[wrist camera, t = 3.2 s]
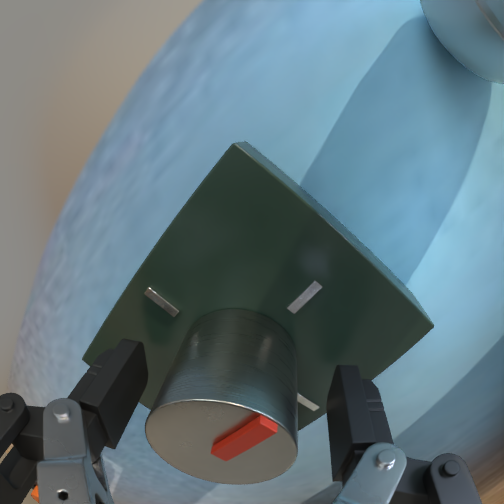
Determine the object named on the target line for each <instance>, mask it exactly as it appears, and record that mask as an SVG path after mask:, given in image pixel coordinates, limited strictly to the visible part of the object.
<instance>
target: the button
mask: <svg viewBox="0 0 504 504" xmlns="http://www.w3.org/2000/svg"><path fill="white" fill-rule="evenodd" d="M31 496H32V497H33V498H34V499H35V500H36V501H37V502H38V503H39V495H38V486H37V485H36V486H35V488H34V490H33V491H32V493H31Z"/></svg>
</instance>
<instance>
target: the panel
mask: <svg viewBox="0 0 504 504" xmlns="http://www.w3.org/2000/svg"><path fill="white" fill-rule="evenodd" d="M226 309H241V310H248V311H252V312H256V313H259V314H261V315H264V316H266V317H268V318H270V319H272V320H273V321H275V322H276V323H277V324H279V325H280V326H281V327H282V328H283V329H284V330H285V331H286V332H287V333H288V335H289V336H290V338H291V339H292V342H293V344H294V346H295V350H296V358H297V406H298V431H299V430H301V429H302V428H304V427H305V426H307V425H309V424H310V423H312V422H313V421H315V420H316V419H318V418H319V417H321V416H322V415H324V414H325V413H327V410H326V405H327V396H328V392H329V389H330V386H331V382H332V379H333V375H334V371H335V368H336V366H337V365H357V366H358V367H359V371H360V375H361V379H370V380H373V379H374V378H375V377H376V376H378V375H379V374H380V373H381V372H383V371H384V370H385V369H386V368H388V367H389V366H390V365H391V364H393V363H394V362H395V361H396V360H397V359H399V358H400V357H401V356H402V355H403V354H404V353H406V352H407V351H408V350H409V349H410V348H411V347H413V346H414V345H415V344H416V343H417V342H418V341H419V340H420V339H422V338H423V337H424V336H425V335H426V334H427V333H428V332H429V331H430V330H431V329H432V328H433V327H434V324H433V323H432V321H431V320H430V318H429V317H428V315H427V314H426V312H425V311H424V309H423V308H422V306H421V305H420V304H419V302H418V301H417V299H416V298H415V296H414V295H413V294H412V292H411V291H410V290H409V289H408V288H407V287H406V286H405V285H404V284H403V283H402V282H401V281H400V280H399V279H398V278H397V277H396V276H395V275H394V274H393V273H392V272H391V271H390V270H389V269H388V268H387V267H386V266H385V265H384V264H383V263H382V262H381V261H380V260H379V259H378V258H377V257H376V256H375V255H374V254H373V253H372V252H371V251H370V250H369V249H368V248H367V247H366V246H365V245H364V244H363V243H361V242H360V241H359V240H358V239H357V238H356V237H355V236H354V235H353V234H352V233H351V232H350V231H349V230H348V229H347V228H346V227H345V226H343V225H342V224H341V223H340V222H339V221H338V220H337V219H336V218H335V217H334V216H333V215H331V214H330V213H329V212H328V211H327V210H326V209H325V208H324V207H323V206H322V205H320V204H319V203H318V202H317V201H316V200H315V199H314V198H313V197H311V196H310V195H309V194H308V193H307V192H306V191H305V190H303V189H302V188H301V187H300V186H299V185H298V184H297V183H295V182H294V181H293V180H292V179H291V178H290V177H288V176H287V175H286V174H285V173H284V172H282V171H281V170H280V169H279V168H278V167H277V166H275V165H274V164H273V163H272V162H271V161H269V160H268V159H267V158H266V157H264V156H263V155H262V154H261V153H260V152H258V151H257V150H256V149H255V148H253V147H252V146H251V145H250V144H249V143H247V142H237V143H233V144H232V145H231V146H230V147H229V149H228V150H227V151H226V152H225V154H224V155H223V156H222V157H221V159H220V160H219V161H218V162H217V164H216V165H215V166H214V167H213V169H212V170H211V171H210V172H209V174H208V175H207V176H206V178H205V179H204V180H203V181H202V183H201V184H200V185H199V187H198V188H197V189H196V190H195V192H194V193H193V194H192V196H191V197H190V198H189V200H188V201H187V202H186V204H185V205H184V206H183V208H182V209H181V210H180V212H179V213H178V214H177V216H176V217H175V218H174V220H173V221H172V223H171V224H170V225H169V227H168V228H167V229H166V231H165V232H164V234H163V235H162V236H161V238H160V239H159V241H158V242H157V243H156V245H155V246H154V248H153V249H152V251H151V252H150V253H149V255H148V256H147V258H146V259H145V261H144V262H143V264H142V265H141V266H140V268H139V269H138V271H137V272H136V274H135V275H134V277H133V278H132V280H131V281H130V283H129V284H128V286H127V287H126V289H125V290H124V292H123V293H122V295H121V296H120V298H119V299H118V301H117V303H116V304H115V306H114V307H113V309H112V310H111V312H110V314H109V315H108V317H107V318H106V320H105V321H104V323H103V325H102V326H101V328H100V329H99V331H98V333H97V334H96V336H95V338H94V339H93V341H92V343H91V344H90V346H89V348H88V349H87V351H86V353H85V354H84V356H83V358H82V360H83V361H84V362H85V363H87V364H88V365H89V366H92V364H93V362H94V361H95V360H96V358H97V357H98V356H99V355H100V354H102V353H103V352H105V351H106V350H108V349H109V348H110V349H115V348H116V346H117V345H118V344H119V342H120V341H121V340H122V339H123V338H125V339H130V340H135V341H140V342H142V343H143V344H144V349H145V355H146V362H147V368H148V382H147V386H146V388H145V390H144V392H143V394H142V396H141V398H140V400H139V402H140V403H141V404H143V405H144V406H146V407H147V408H149V409H150V410H151V408H152V406H153V404H154V402H155V400H156V398H157V395H158V393H159V391H160V389H161V387H162V384H163V382H164V380H165V378H166V376H167V374H168V372H169V369H170V367H171V365H172V363H173V361H174V359H175V357H176V354H177V352H178V350H179V348H180V346H181V344H182V342H183V340H184V337H185V335H186V333H187V332H188V330H189V328H190V327H191V326H192V325H193V324H194V323H195V322H196V321H197V320H199V319H200V318H201V317H203V316H205V315H207V314H209V313H212V312H215V311H220V310H226Z"/></svg>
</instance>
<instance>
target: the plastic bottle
mask: <svg viewBox="0 0 504 504" xmlns="http://www.w3.org/2000/svg"><path fill="white" fill-rule="evenodd" d="M420 3H421V6H422V9H423V12H424V14H425V16H426V18H427V21H428V23H429V25H430V27H431V29H432V30H433V32H434V34H435V35H436V37H437V38H438V39H439V41H440V42H441V44H442V45H443V46H444V47H445V48H446V49H447V50H448V51H449V53H450V54H451V55H452V56H453V57H454V58H455V59H456V60H458V61H459V62H460V63H461V64H462V65H463V66H465V67H466V68H467V69H468V70H470V71H471V72H473V73H474V74H476V75H477V76H479V77H481V78H483V79H486V80H488V81H491V82H495V83H499V84H504V0H420Z"/></svg>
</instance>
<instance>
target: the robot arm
mask: <svg viewBox="0 0 504 504" xmlns="http://www.w3.org/2000/svg"><path fill="white" fill-rule="evenodd" d="M147 382H148V368H147V362H146V355H145V349H144V344H143V343H142V342H140V341H135V340H130V339H125V338H123V339H122V340H121V341H120V342H119V344H118V345H117V346H116V348H115V349H110V348H109V349H108V350H106V351H105V352H103V353H102V354H100V355H99V356H98V357H97V358H96V360H95V361H94V362H93V364H92V366H90V368H89V369H88V370H87V373H85V374H84V376H83V377H82V378H81V380H80V381H79V383H78V384H77V385H76V387H75V388H74V389H73V391H72V392H71V394H70V395H69V396H68V398H61V399H56V400H54V401H52V402H50V403H49V404H48V405H47V406H46V407H35V406H26V404H25V402H24V400H23V398H22V397H21V396H20V395H18V394H15V393H6V394H3V395H1V396H0V458H1V456H2V455H3V454H4V452H5V451H6V450H7V449H8V447H9V446H10V445H11V443H12V444H13V445H14V446H13V448H12V449H11V450H10V452H9V453H8V454H7V456H6V457H5V458H4V460H3V461H2V463H1V464H0V504H21V503H22V502H23V500H24V498H25V497H26V495H27V494H28V492H29V490H30V489H31V488H32V486H33V484H34V483H35V481H36V480H37V483H38V495H39V504H114V502H113V499H112V496H111V493H110V489H109V484H108V480H107V476H106V471H105V467H104V462H103V457H102V454H101V452H102V450H103V448H104V446H106V447H109V448H112V449H115V448H116V446H117V444H118V442H119V440H120V438H121V436H122V434H123V432H124V430H125V428H126V426H127V424H128V422H129V420H130V418H131V416H132V414H133V412H134V410H135V408H136V406H137V404H138V402H139V400H140V398H141V396H142V394H143V392H144V390H145V388H146V386H147ZM326 410H327V420H328V430H329V441H330V453H331V465H332V479H333V481H342V485H343V488H342V490H341V491H340V493H339V494H338V496H337V497H336V499H335V500H334V501H333V503H332V504H482V502H481V499H480V496H479V494H478V491H477V489H476V486H475V484H474V481H473V479H472V476H471V474H470V471H469V469H468V466H467V464H466V463H465V461H464V460H463V459H462V458H461V457H459V456H457V455H455V454H450V453H445V454H441V455H439V456H437V457H436V458H435V459H434V460H433V461H432V462H428V461H422V460H415V459H411V458H408V457H406V456H405V454H404V452H403V451H402V450H401V449H400V448H399V447H397V446H396V445H394V443H393V440H392V436H391V433H390V429H389V425H388V421H387V418H386V414H385V411H384V407H383V403H382V402H381V397H380V393H379V390H378V388H377V387H376V386H375V384H374V383H373V382H372V381H371V380H370V379H361V375H360V371H359V367H358V366H357V365H337V366H336V368H335V371H334V375H333V379H332V382H331V386H330V389H329V392H328V396H327V405H326Z"/></svg>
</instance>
